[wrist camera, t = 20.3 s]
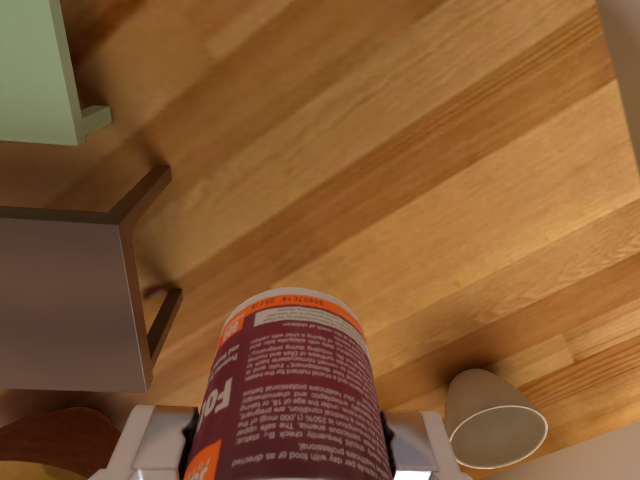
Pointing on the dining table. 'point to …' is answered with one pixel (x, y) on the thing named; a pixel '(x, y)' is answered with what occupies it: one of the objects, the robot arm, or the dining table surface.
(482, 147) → the dining table surface
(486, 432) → the flower pot
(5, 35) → the chair
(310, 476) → the pill bottle
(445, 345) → the dining table surface
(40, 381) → the toy table
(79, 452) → the bowl
